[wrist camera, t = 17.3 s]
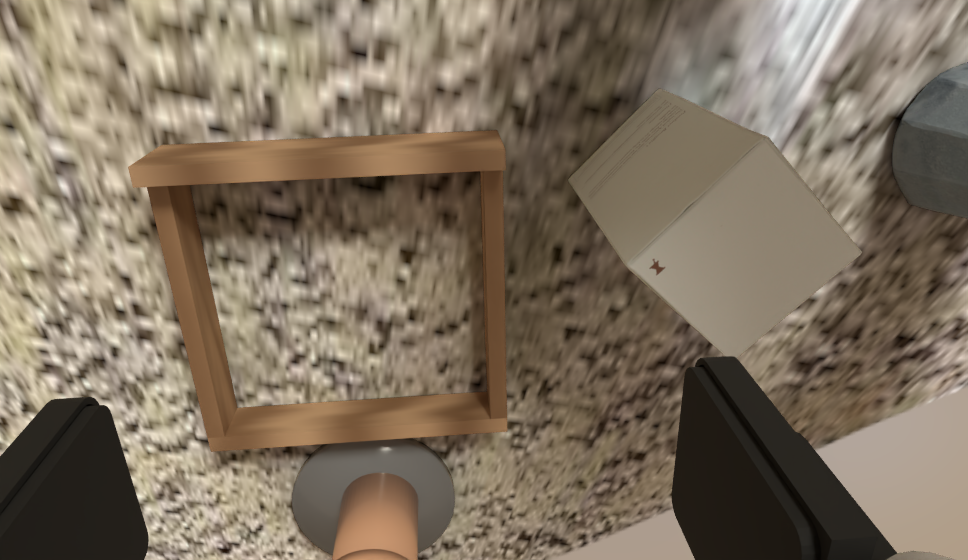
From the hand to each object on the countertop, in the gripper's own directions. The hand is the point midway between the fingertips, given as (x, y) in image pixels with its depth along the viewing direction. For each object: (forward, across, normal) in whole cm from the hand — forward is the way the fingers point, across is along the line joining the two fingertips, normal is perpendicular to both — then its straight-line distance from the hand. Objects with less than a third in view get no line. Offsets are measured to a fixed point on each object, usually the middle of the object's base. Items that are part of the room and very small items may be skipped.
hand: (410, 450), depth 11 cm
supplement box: (+29, -13, +4) cm, 32 cm away
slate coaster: (+28, +5, +26) cm, 39 cm away
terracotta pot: (+28, +5, +26) cm, 38 cm away
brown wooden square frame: (+28, +5, +10) cm, 30 cm away
